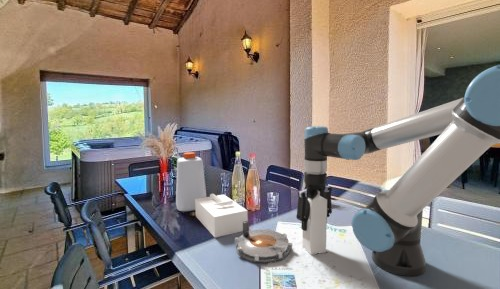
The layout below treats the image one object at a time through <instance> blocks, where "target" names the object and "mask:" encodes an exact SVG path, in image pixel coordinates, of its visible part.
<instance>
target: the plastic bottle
mask: <svg viewBox="0 0 500 289" xmlns="http://www.w3.org/2000/svg"><path fill="white" fill-rule="evenodd" d="M205 180H206V179H205V168H204V162H203V159H202V158H201V157H199V156H196V152H192V151H191V152H190V151H189V152H188V151H187V152H183V157H179V158H177V160H176V187H175V188H176V189H175V190H176V191H175V193H176V194H175V206H176V209H177V210H178V211H179V212H191V211H192V212H193V211H196V209H195V199H199V198H205V197H207V190H206V189H207V188H206V181H205Z"/></svg>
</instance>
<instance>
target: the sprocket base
mask: <svg viewBox="0 0 500 289" xmlns="http://www.w3.org/2000/svg"><path fill="white" fill-rule="evenodd" d="M235 248H236V249H235V250H236V252H237V248H238V243H236V246H235ZM290 251H291V249H288V250H287V252H286V253H285V254H283V255H282V258H280V259H278V258H277V257H276V258H271V259H259V261H256V260H255V258H251V257H248V256H246V255H244V254H242V253H241V254H238V253H237V255H238V256H239V257H240V258H241V259H243V260H246V261H249V262H252V263H256V264H270V262H272V263H276V262H280V261H282V260H283V259H285V258H287V257H288V255H289V254H290ZM279 260H280V261H279ZM275 261H276V262H275Z"/></svg>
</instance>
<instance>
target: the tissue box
mask: <svg viewBox="0 0 500 289" xmlns="http://www.w3.org/2000/svg"><path fill="white" fill-rule="evenodd" d="M195 209H196V210H195V217H196V218H197V219H198V220H199V221H200V223H201V225H203V226H204V227H205V229H206V230H208V232H209V233H210V234H211V235H212V236H213V238H215V239H216V238H219V237H223V236H228V235H232V234H235V233H241V232H243V222H244V221H248V220H249V218H248V217H249V216H248V209H246V208H245V207H244V206H242V205H240V204H239V203H237V202H236V201H235V200H233V199H231V198H230V197H229V196H226V195H225V194H217V195H216V194H215V193H210V194H209V196H206V197H205V198H199V199H195ZM248 222H249V221H248Z"/></svg>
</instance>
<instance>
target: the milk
mask: <svg viewBox="0 0 500 289" xmlns="http://www.w3.org/2000/svg"><path fill="white" fill-rule="evenodd" d="M317 191H318V190H317ZM307 198H308V201H309V203H310V215H309V219H308V221H310V240H306V239H305V238H303V237H302V247H303V249H304V248H305V249H306V250H307V251H308V252H307V251H306V250H305V251H306V252H307V253H308V254H309V255H310V256H313V255H316V254H317V253H319V254H323V253H322V252H324V253H326V252H327V227H328V226H327V224H328V217H327V199H325V198H323V197H321V196H320V191H318V193H317V195H316V197H315V198H314V199H313V200H312V198H309V197H307Z"/></svg>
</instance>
